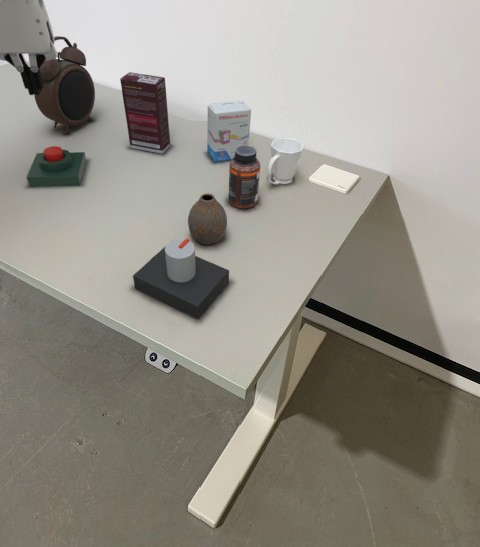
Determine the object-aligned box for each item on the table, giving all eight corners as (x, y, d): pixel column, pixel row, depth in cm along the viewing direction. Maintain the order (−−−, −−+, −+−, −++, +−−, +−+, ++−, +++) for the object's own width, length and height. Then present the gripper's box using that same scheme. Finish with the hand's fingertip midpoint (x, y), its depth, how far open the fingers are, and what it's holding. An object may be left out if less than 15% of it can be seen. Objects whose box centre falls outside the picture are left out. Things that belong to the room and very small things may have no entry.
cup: (304, 178, 93) (310, 144, 87) (280, 197, 87) (284, 162, 81) (278, 167, 96) (282, 133, 90) (252, 185, 90) (255, 150, 84)
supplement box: (171, 145, 101) (166, 76, 90) (162, 154, 97) (156, 84, 86) (138, 139, 102) (129, 70, 91) (129, 148, 99) (118, 78, 88)
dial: (185, 286, 63) (184, 260, 60) (161, 276, 65) (158, 250, 61) (201, 269, 66) (200, 243, 62) (177, 259, 67) (175, 233, 64)
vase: (191, 252, 73) (190, 211, 67) (186, 228, 78) (184, 187, 72) (230, 247, 75) (231, 206, 69) (222, 224, 80) (223, 184, 73)
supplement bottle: (263, 203, 85) (268, 152, 77) (241, 213, 82) (245, 161, 74) (243, 190, 88) (247, 139, 80) (222, 199, 85) (223, 148, 77)
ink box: (214, 163, 96) (214, 112, 87) (207, 153, 99) (206, 103, 91) (248, 157, 98) (251, 108, 90) (240, 148, 102) (243, 99, 93)
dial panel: (135, 289, 66) (132, 275, 64) (169, 257, 72) (167, 243, 70) (198, 319, 63) (197, 306, 60) (228, 283, 68) (229, 270, 66)
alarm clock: (66, 140, 100) (42, 49, 86) (42, 133, 102) (16, 43, 88) (105, 118, 110) (89, 33, 96) (83, 112, 112) (65, 27, 98)
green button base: (29, 186, 86) (23, 169, 83) (39, 162, 93) (34, 145, 90) (80, 185, 87) (76, 168, 84) (86, 161, 94) (82, 144, 91)
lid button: (44, 162, 86) (41, 154, 84) (47, 154, 88) (45, 146, 87) (62, 162, 86) (60, 154, 85) (65, 153, 89) (63, 145, 87)
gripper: (56, -31, 69) (80, 84, 81) (-42, -34, 67) (-1, 84, 80) (47, -22, 63) (74, 100, 76) (-60, -25, 61) (-13, 100, 74)
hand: (36, 92), depth 78 cm, fingers closed
